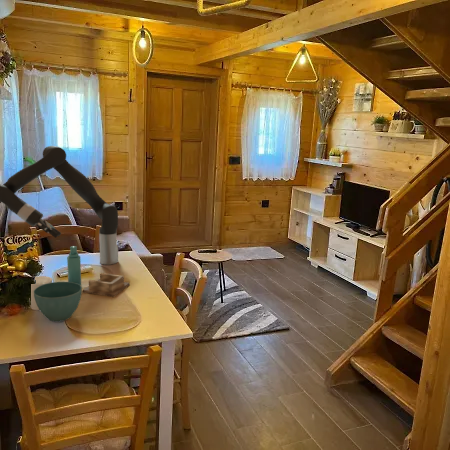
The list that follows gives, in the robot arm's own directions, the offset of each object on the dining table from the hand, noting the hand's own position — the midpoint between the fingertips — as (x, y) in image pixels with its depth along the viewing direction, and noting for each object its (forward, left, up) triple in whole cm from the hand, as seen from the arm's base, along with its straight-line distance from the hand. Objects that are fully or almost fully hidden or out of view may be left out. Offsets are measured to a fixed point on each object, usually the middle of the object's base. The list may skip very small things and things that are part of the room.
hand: (58, 235), depth 221 cm
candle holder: (+24, +19, -24) cm, 39 cm away
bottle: (-2, +8, -24) cm, 25 cm away
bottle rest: (-8, +24, -24) cm, 35 cm away
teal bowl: (+26, +34, -24) cm, 49 cm away
